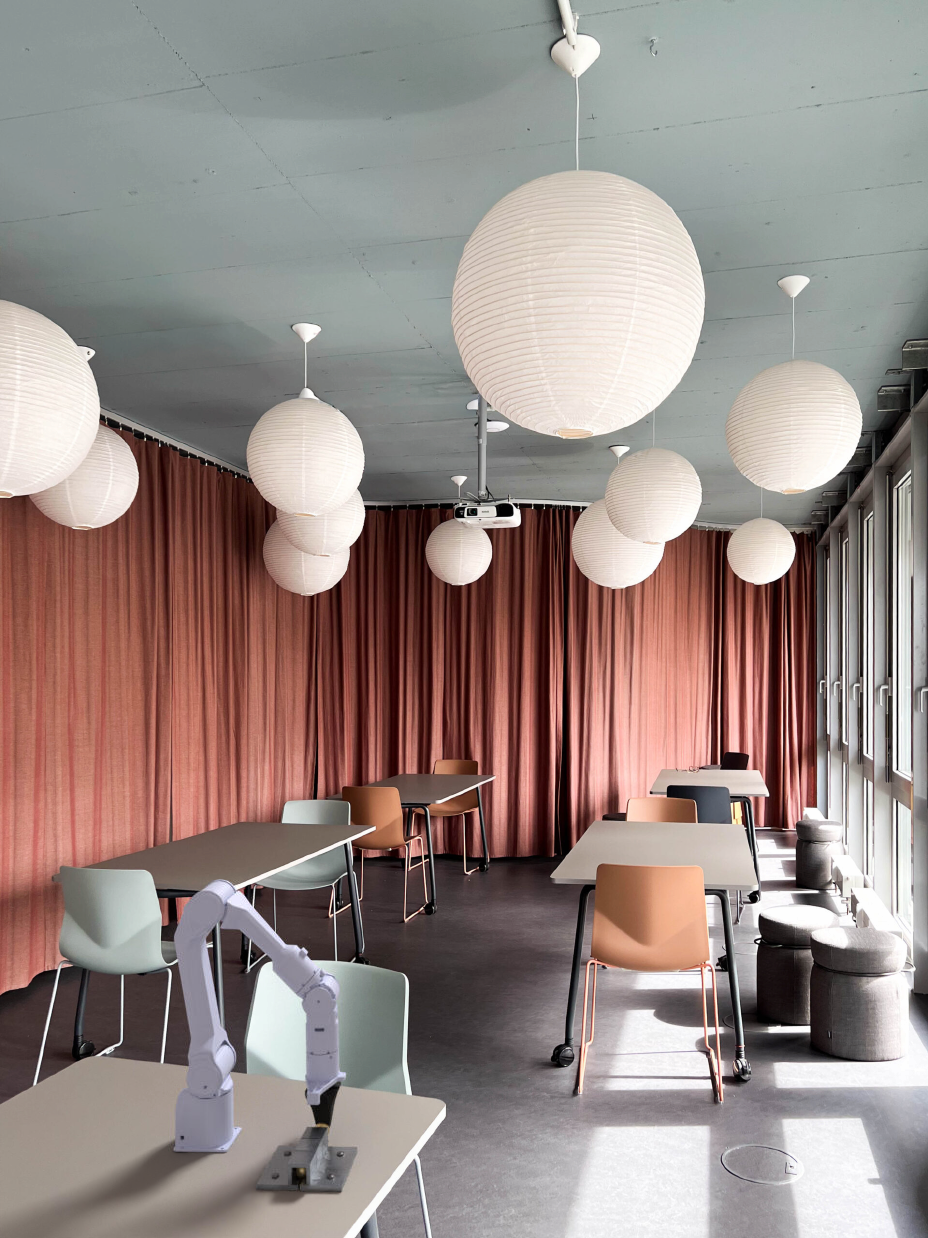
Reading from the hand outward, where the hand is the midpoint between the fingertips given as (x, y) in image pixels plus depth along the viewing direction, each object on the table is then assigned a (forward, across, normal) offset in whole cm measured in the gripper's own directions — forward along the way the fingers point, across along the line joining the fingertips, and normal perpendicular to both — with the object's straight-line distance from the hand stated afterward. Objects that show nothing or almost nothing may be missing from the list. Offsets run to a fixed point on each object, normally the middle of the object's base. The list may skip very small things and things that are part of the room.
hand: (323, 1129), depth 160 cm
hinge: (+2, -10, 0) cm, 11 cm away
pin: (+1, -8, 0) cm, 8 cm away
